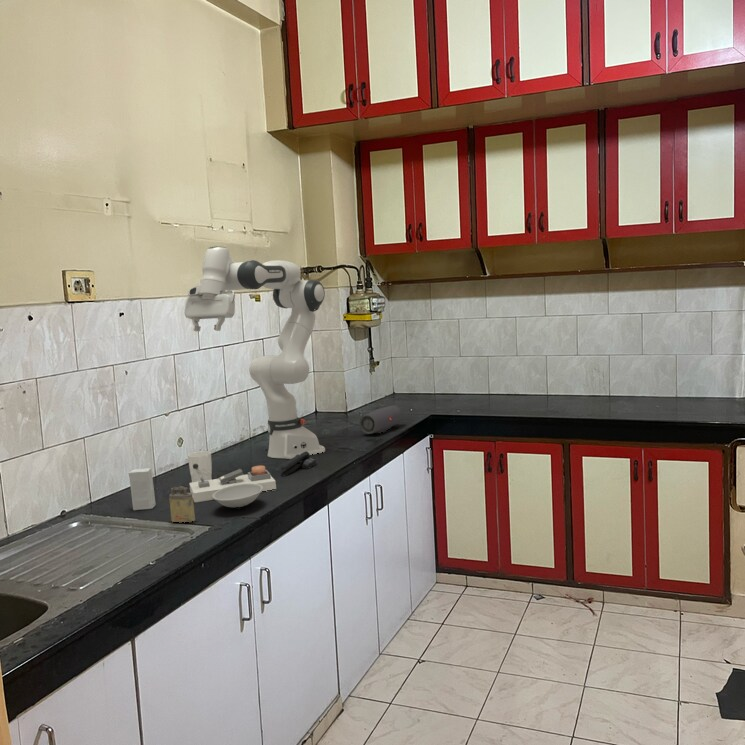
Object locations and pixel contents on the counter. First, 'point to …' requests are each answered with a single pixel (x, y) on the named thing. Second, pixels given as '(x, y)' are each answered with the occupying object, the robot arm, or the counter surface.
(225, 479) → the block
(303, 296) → the robot arm
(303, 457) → the can opener
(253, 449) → the counter surface
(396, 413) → the bluetooth speaker
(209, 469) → the white cup
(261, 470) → the push button
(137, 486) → the skincare box
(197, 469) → the toggle lever
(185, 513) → the lighter
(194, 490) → the switch panel
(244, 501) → the dish
